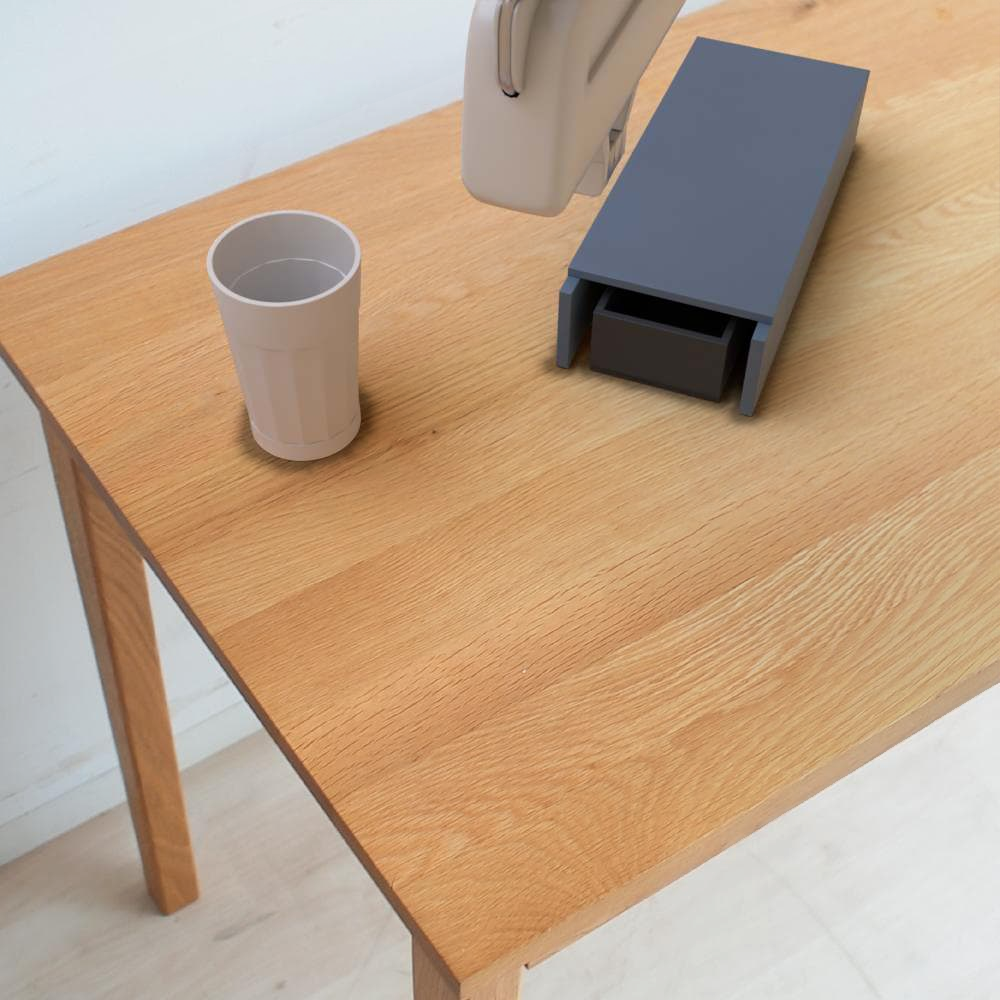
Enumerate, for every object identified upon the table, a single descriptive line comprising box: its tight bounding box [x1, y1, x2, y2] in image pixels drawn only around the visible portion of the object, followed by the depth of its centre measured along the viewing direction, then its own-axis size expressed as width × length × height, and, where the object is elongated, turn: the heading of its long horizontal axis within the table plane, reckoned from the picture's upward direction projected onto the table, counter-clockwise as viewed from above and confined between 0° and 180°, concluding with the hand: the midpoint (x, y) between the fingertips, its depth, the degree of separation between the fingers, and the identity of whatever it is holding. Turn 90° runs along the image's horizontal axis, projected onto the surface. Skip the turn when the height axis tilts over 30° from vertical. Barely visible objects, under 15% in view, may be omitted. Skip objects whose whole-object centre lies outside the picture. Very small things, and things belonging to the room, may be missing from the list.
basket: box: [589, 285, 752, 403], centre depth 87 cm, size 10×8×4 cm
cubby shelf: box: [555, 36, 871, 417], centre depth 92 cm, size 29×12×6 cm, turn 159°
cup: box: [206, 209, 362, 462], centre depth 79 cm, size 8×8×12 cm
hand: (592, 175), depth 59 cm, fingers closed
